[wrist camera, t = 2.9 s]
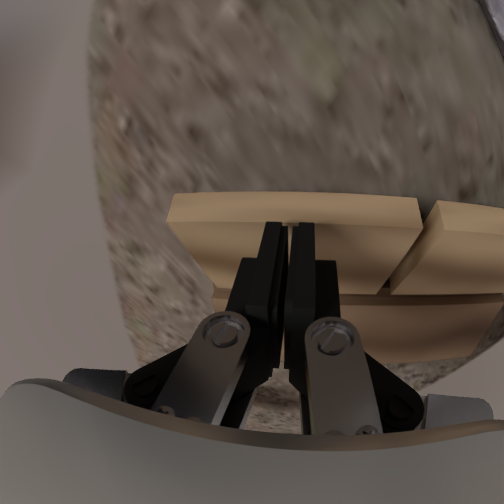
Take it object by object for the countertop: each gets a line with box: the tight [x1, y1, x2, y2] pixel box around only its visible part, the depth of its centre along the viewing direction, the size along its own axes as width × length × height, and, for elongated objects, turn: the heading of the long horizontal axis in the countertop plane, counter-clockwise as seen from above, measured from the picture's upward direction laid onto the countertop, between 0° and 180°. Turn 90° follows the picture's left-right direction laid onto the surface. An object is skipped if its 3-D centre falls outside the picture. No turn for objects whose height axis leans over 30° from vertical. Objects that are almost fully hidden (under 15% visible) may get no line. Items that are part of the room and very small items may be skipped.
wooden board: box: [211, 282, 504, 364], centre depth 19 cm, size 8×22×1 cm, turn 95°
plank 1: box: [166, 192, 423, 294], centre depth 14 cm, size 8×10×1 cm
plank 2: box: [390, 200, 504, 295], centre depth 12 cm, size 8×10×1 cm
